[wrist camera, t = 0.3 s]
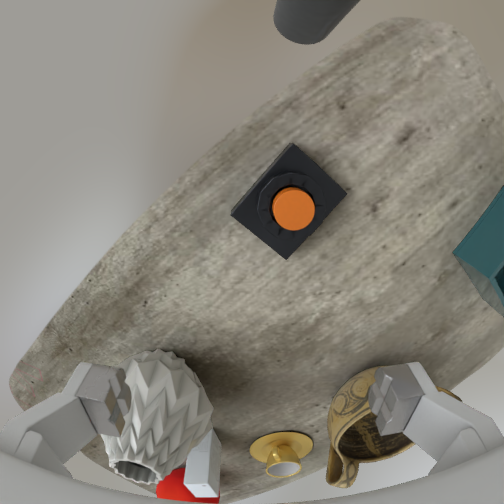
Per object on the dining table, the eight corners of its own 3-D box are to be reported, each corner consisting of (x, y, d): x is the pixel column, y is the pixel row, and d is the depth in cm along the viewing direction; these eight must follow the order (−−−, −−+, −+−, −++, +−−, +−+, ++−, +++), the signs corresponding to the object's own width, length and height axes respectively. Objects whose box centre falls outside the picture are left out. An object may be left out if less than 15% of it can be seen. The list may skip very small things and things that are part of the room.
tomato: (216, 487, 58) (214, 527, 47) (160, 477, 56) (152, 517, 46) (225, 465, 54) (223, 511, 43) (161, 454, 52) (152, 499, 41)
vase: (238, 360, 43) (236, 471, 26) (187, 417, 48) (173, 510, 30) (135, 304, 39) (80, 405, 22) (100, 373, 44) (59, 461, 27)
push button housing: (290, 142, 33) (295, 143, 29) (341, 190, 35) (352, 197, 31) (231, 210, 35) (229, 219, 32) (283, 253, 37) (288, 266, 34)
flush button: (290, 179, 31) (293, 181, 29) (319, 204, 32) (323, 208, 30) (264, 208, 32) (265, 212, 30) (293, 233, 33) (295, 238, 31)
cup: (318, 452, 53) (322, 473, 48) (262, 466, 54) (263, 487, 49) (303, 423, 49) (307, 446, 44) (239, 439, 50) (239, 462, 45)
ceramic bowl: (391, 315, 41) (440, 385, 27) (440, 361, 45) (480, 419, 31) (285, 406, 47) (296, 483, 33) (348, 435, 51) (366, 497, 37)
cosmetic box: (190, 428, 49) (182, 483, 38) (213, 427, 49) (208, 483, 37) (200, 446, 51) (195, 498, 40) (222, 444, 51) (219, 497, 39)
